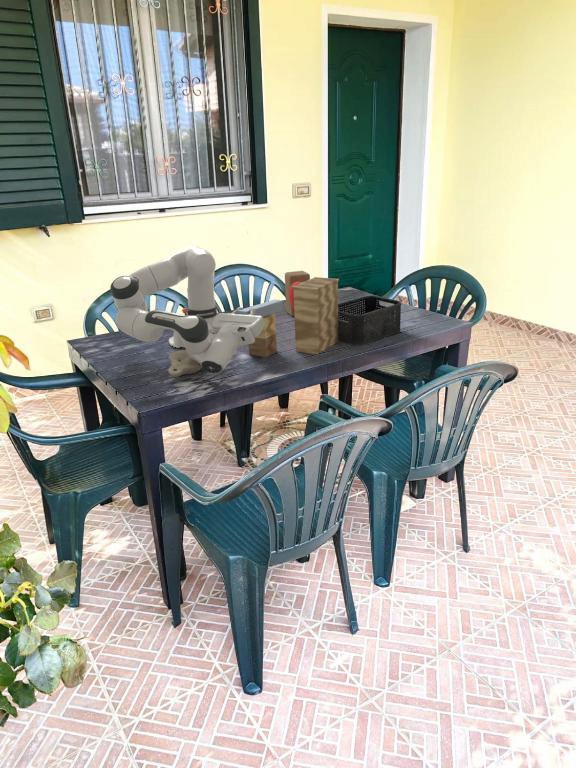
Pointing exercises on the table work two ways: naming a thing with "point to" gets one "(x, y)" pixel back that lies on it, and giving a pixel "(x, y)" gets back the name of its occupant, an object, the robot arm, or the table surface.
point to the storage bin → (368, 320)
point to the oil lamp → (182, 364)
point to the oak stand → (316, 314)
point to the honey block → (268, 327)
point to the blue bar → (264, 308)
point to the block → (289, 280)
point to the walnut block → (263, 346)
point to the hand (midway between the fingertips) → (247, 308)
